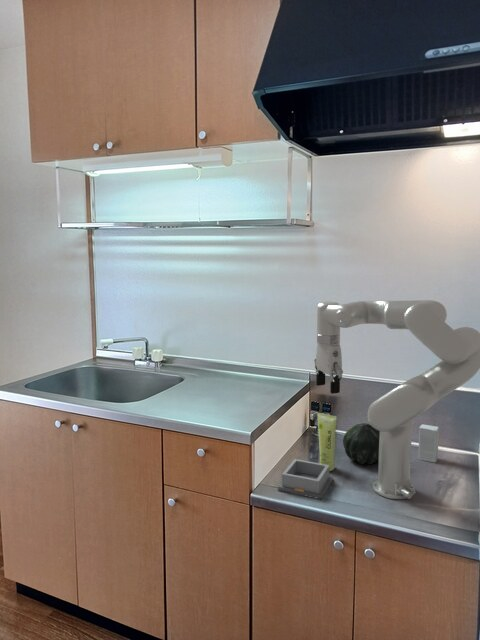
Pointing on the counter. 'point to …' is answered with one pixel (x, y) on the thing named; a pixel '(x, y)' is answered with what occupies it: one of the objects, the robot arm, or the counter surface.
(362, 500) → the counter surface
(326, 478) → the socket
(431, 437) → the skincare box
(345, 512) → the counter surface
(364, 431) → the squash
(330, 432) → the tube
